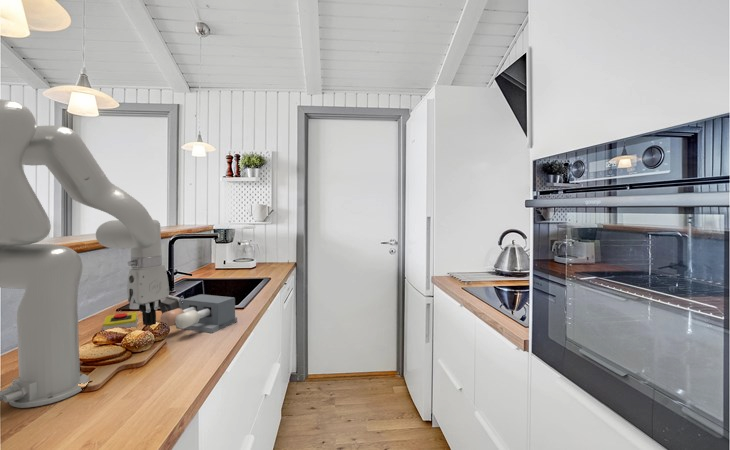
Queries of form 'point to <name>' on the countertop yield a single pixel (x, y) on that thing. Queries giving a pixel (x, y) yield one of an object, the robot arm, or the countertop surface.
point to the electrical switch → (170, 304)
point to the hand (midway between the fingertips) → (149, 324)
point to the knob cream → (191, 317)
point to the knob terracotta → (174, 315)
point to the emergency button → (121, 320)
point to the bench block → (212, 312)
